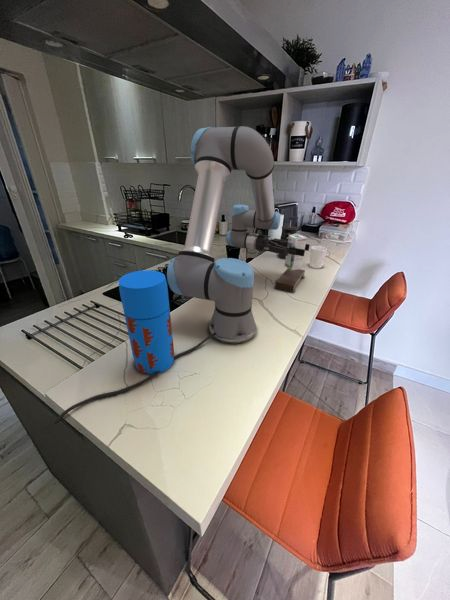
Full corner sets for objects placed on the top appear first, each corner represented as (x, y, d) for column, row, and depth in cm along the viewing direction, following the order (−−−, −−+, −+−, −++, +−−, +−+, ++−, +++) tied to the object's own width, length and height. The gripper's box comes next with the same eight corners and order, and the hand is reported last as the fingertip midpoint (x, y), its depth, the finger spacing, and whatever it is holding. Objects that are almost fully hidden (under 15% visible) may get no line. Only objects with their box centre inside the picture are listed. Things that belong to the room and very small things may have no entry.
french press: (274, 257, 150) (279, 216, 139) (279, 252, 157) (284, 214, 146) (294, 260, 145) (300, 219, 134) (298, 256, 152) (305, 216, 141)
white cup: (321, 263, 141) (325, 246, 137) (324, 269, 134) (328, 250, 130) (306, 263, 142) (309, 245, 137) (309, 268, 135) (312, 250, 130)
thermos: (158, 343, 78) (148, 266, 66) (182, 358, 72) (175, 277, 60) (127, 362, 71) (108, 279, 59) (150, 381, 65) (135, 293, 53)
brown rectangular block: (292, 292, 110) (293, 285, 108) (274, 288, 113) (275, 281, 111) (303, 276, 125) (305, 270, 123) (287, 273, 128) (288, 267, 127)
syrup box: (283, 266, 118) (288, 234, 111) (295, 264, 120) (299, 233, 113) (290, 270, 113) (295, 238, 106) (301, 269, 115) (307, 237, 108)
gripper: (264, 244, 129) (310, 252, 120) (248, 256, 113) (299, 266, 104) (266, 229, 126) (313, 236, 116) (248, 239, 110) (302, 248, 100)
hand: (306, 250), depth 110 cm, fingers closed on syrup box, 8 cm apart
